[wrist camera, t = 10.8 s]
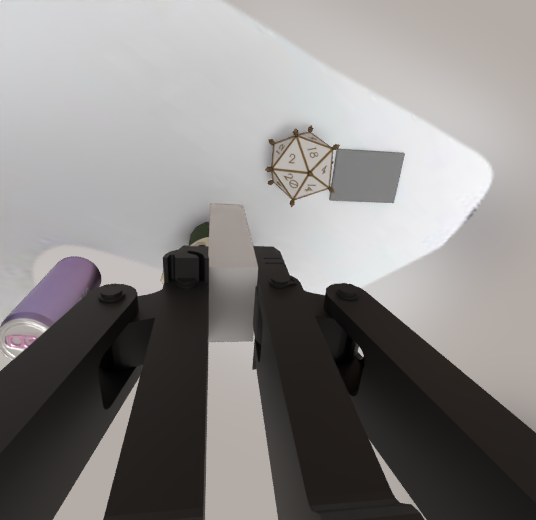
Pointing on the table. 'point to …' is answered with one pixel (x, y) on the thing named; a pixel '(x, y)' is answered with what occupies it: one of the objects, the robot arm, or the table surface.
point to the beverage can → (47, 303)
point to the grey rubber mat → (366, 176)
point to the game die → (301, 165)
